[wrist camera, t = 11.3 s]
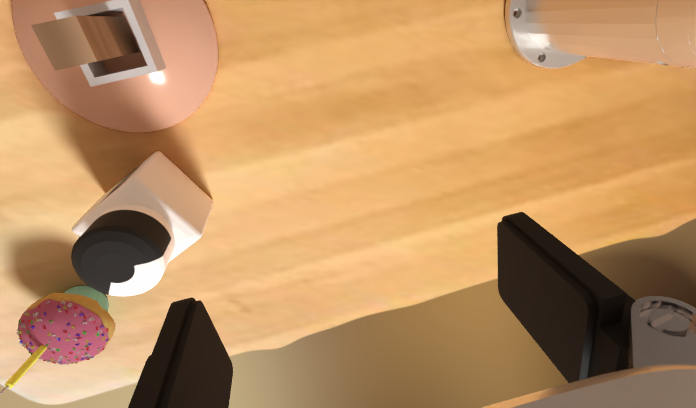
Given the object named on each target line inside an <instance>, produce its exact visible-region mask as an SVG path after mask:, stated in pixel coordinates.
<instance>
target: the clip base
mask: <svg viewBox="0 0 696 408" xmlns="http://www.w3.org/2000/svg"><path fill="white" fill-rule="evenodd" d="M12 15H13V24H14V29H15V34H16V37H17V40H18V43H19V46H20V49H21V51H22V53H23V55H24V57H25V59H26V61H27V63H28V65H29V66H30V68H31V70H32V71H33V73H34V74H35V76H36V77H37V78H38V79H39V81H40V82H41V83H42V85H43V86H44V87H45V88H46V89H47V90H48V91H49V92H50V93H51V94H52V95H53V96H54V97H55V98H56V99H57V100H58V101H60V102H61V103H62V104H63V105H64V106H66V107H67V108H69V109H70V110H72V111H73V112H74V113H76V114H78V115H79V116H81V117H83V118H85V119H87V120H89V121H91V122H93V123H96V124H98V125H100V126H104V127H107V128H110V129H114V130H119V131H124V132H137V133H138V132H152V131H158V130H162V129H165V128H168V127H171V126H173V125H175V124H178V123H180V122H181V121H183V120H184V119H186V118H187V117H189V116H190V115H191V114H192V113H193V112H195V111H196V110H197V109H198V108H199V106H200V105H201V104H202V103H203V102H204V100H205V99H206V97H207V96H208V94H209V92H210V90H211V88H212V86H213V83H214V81H215V77H216V73H217V68H218V60H219V49H218V40H217V33H216V30H215V26H214V22H213V19H212V17H211V14H210V12H209V9H208V7H207V5H206V4H205V2H204V0H12ZM72 16H104V17H126V19H127V21H128V24H129V26H130V28H131V31H132V33H133V36H134V38H135V40H136V43H137V45H138V47H139V50H140V52H137V53H133V54H128V55H124V56H119V57H115V58H110V59H106V60H101V61H97V62H92V63H88V64H83V65H78V66H74V67H69V68H65V69H60V70H56V71H55V70H54V68H53V66H52V64H51V62H50V60H49V58H48V57H47V55H46V53H45V51H44V49H43V47H42V45H41V43H40V41H39V40H38V38H37V36H36V34H35V32H34V30H33V28H32V26H31V25H34V24H39V23H44V22H48V21H53V20H58V19H62V18H67V17H72Z"/></svg>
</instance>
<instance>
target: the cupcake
mask: <svg viewBox="0 0 696 408" xmlns="http://www.w3.org/2000/svg"><path fill="white" fill-rule="evenodd" d="M114 330H115V323H114V320H113V319H112V317H111V316H110V315H109V313H108V300H107V297H106V296H105V295H104V294H103V293H101V292H99V291H97V290H95V289H93V288H91V287H89V286H76V287H73V288H70V289H68V290H67V291H65V292H64V293H52V294H49V295H47V296H46V297H44V298H42V299H40V300H38V301H36V302H35V303H33V304H32V305H31V306H30V307H29V308H28V309H27V310H26V311H25V312H24V313H23V315H22V316H21V318H20V320H19V324H18V329H17V331H18V332H17V334H18V335H19V337H20V338H19V339H20V340H21V341H20V342H21V344H23V345H22V346H24V347H25V348H26V349H27V350H29V353H31V356H30V357H29V359H28V360H27V361H26V362H25V363H24V364H23V365H22V366H21V367H20V368H19V369H18V371H17V372H16V373H15V374H14V375H13V376H12V377H11V378H10V379H9V380H8V381H7V382H6V384H5V386H6V387H5V388H4V389H3V390H2V391H1V392H0V395H1V394H2V393H3V392H4V391H5V390H6V389H7V388H12V387H13V386H14V385H15V384H16V383H17V382H18V381H19V379H20V378H21V377H22V376H23V375H24V374H25V373H26V372H27V370H28V369H29V368H30V367H31V366H32V365H33V364H34V363H35V361H36V360H37V359H43V361H47V362H53V363H58V364H60V365H62V364H70V363H72V364H73V363H75V362H76V363H78V362H79V361H83V360H89V359H90V358H93V357H94V356H95V355H97V354H99V353H100V352H101V351H102V350H104V348H105V346H106V345H107V344H108V343H109V341H110V340H111V338H112V336H113V333H114ZM19 344H20V343H19Z"/></svg>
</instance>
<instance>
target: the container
mask: <svg viewBox="0 0 696 408" xmlns="http://www.w3.org/2000/svg"><path fill="white" fill-rule="evenodd" d="M212 206H213V200H212V199H211V198H210V197H209V196H208V195H206V194H205V193H204V192H203V191H202V190H201V189H200V188H199V187H198V186H197V185H196V184H195V183H194V182H193V181H191V180H190V179H189V178H188V177H187V176H186V175H185V174H184V173H183V172H182V171H181V170H180V169H179V168H178V167H176V166H175V165H174V164H173V163H172V162H171V161H170V160H169V159H168V158H167V157H166V156H165V155H164V154H163V153H161V152H160V151H156V152H154V153H153V154H152V155H151V156H150V157H149V158H147V159H146V160H145V161H144V162H143V163H141V164H140V165H139V166H138V167H137V168H135V169H134V170H133V171H132V172H131V173H129V174H128V175H127V176H126V177H125V178H123V179H122V180H121V181H120V182H119V183H117V184H116V185H115V186H114V187H113V188H111V189H110V190H109V191H108V192H107V193H105V194H104V195H103V196H102V197H101V198H100V199H99V200H98V201H97V202H96V203H95V204H94V205H93V206H92V207H91V208H90V209H89V210H88V211H87V212H86V213H85V214H84V215H83V216H82V217H81V219H80V220H79V221H78V222H77V223H76V224H75V225H74V226H73V227H72V231H73V232H74V233H75V234H77V235H78V236H79V239H78V240H77V241H76V243H75V244H74V246H73V249H72V255H71V258H72V264H73V267H74V269H75V271H76V273H77V274H78V276H79V277H80V278H81V279H82V280H83V282H85V283H86V284H87V285H88V286H90V287H91V288H93V289H95V290H97V291H99V292H101V293H104V294H108V295H113V296H132V295H137V294H141V293H144V292H146V291H148V290H150V289H151V288H153V287H154V286H155V285H156V284H157V283H158V282H159V281H160V279H161V277H162V275H163V273H164V271H165V269H166V267H167V264H168V263H169V262H170V261H171V260H172V259H174V258H175V257H176V256H178V255H179V254H180V253H181V252H183V251H184V250H185V249H187V248H188V247H189V246H190V245H192V244H193V243H194V242H196V241H197V240H198V239H199V238H201V236H202V234H203V232H204V229H205V226H206V223H207V220H208V217H209V214H210V212H211V209H212Z"/></svg>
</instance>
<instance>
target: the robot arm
mask: <svg viewBox="0 0 696 408" xmlns="http://www.w3.org/2000/svg"><path fill="white" fill-rule="evenodd" d="M513 13H514V15H513ZM505 22H506V30H507V33H508V36H509V40H510V42H511V44H512V46H513V47H514V49H515V51H516V52H517V53H518V54H519V55H520V56H521V57H522V58H523V59H524V60H526V61H527V62H529V63H530V64H533V65H536V66H539V67H544V68H562V67H566V66H570V65H572V64H575V63H577V62H579V61H581V60H583V59H584V58H586V57H587V56H589V57H598V58H607V59H616V60H625V61H634V62H643V63H652V64H661V65H670V66H679V67H688V68H696V0H506V5H505ZM497 237H498V289H499V293H500V296H501V298H502V300H503V301H504V302H505V304H506V305H507V306H508V307H509V309H510V310H511V311H512V312H513V314H514V315H515V316H516V317H517V319H518V320H519V321H520V322H521V324H522V325H523V326H524V327H525V329H526V330H527V331H528V332H529V334H530V335H531V336H532V337H533V339H534V340H535V341H536V342H537V344H538V345H539V346H540V347H541V349H542V350H543V351H544V352H545V353H546V355H547V356H548V357H549V359H550V360H551V361H552V362H553V364H554V365H555V366H556V367H557V369H558V370H559V371H560V372H561V374H562V375H563V376H564V377H565V379H566V380H567V381H568V382H569V383H568V384H564V385H560V386H556V387H553V388H549V389H545V390H542V391H538V392H535V393H531V394H528V395H525V396H521V397H517V398H514V399H510V400H506V401H503V402H500V403H496V404H492V405H489V406H485V407H482V408H696V309H695V308H693V307H692V306H690V305H688V304H686V303H683V302H681V301H678V300H675V299H671V298H666V297H657V296H651V297H644V298H641V299H638V300H637V301H635V300H634V299H633V298H631V297H630V296H629V295H627V293H626V292H624V291H623V290H622V289H620V288H619V287H618V286H617V285H615V284H614V283H613V282H612V281H610V280H609V279H608V278H606V277H605V276H604V275H603V274H601V273H600V272H599V271H598V270H596V269H595V268H594V267H592V266H591V265H590V264H589V263H587V262H586V261H585V260H583V259H582V258H581V257H580V256H578V255H577V254H576V253H575V252H573V251H572V250H571V249H570V248H568V247H567V246H566V245H564V244H563V243H562V242H561V241H559V240H558V239H557V238H555V237H554V236H553V235H552V234H550V233H549V232H548V231H547V230H545V229H544V228H543V227H541V226H540V225H539V224H538V223H536V222H535V221H534V220H533V219H531V218H530V217H529V216H527V215H526V214H525V213H523V212H519V213H515V214H511V215H508V216H504V217H503V218H502V222H499V223H498V226H497ZM232 376H233V367H232V362H231V360H230V358H229V356H228V354H227V352H226V350H225V348H224V346H223V344H222V341H221V339H220V337H219V335H218V333H217V331H216V329H215V327H214V325H213V323H212V321H211V319H210V317H209V315H208V313H207V311H206V309H205V307H204V305H203V303H202V302H201V301H196V300H195V299H194V298H188V299H184V300H180V301H176V302H173V303H172V304H171V306H170V308H169V311H168V313H167V316H166V318H165V321H164V324H163V326H162V329H161V332H160V334H159V337H158V339H157V342H156V345H155V347H154V350H153V353H152V355H150V356H149V357H148V359H147V361H146V363H145V366H144V368H143V371H142V373H141V376H140V379H139V381H138V384H137V386H136V389H135V391H134V394H133V396H132V399H131V402H130V404H129V407H128V408H228V406H229V399H230V391H231V383H232Z"/></svg>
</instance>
